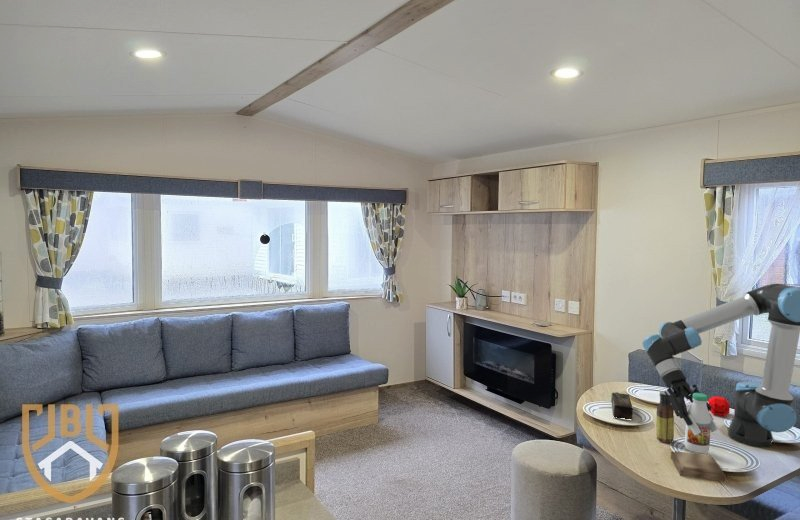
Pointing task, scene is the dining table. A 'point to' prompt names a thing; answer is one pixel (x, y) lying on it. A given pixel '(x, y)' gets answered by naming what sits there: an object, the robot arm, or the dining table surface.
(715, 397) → the ball
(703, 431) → the milk bottle
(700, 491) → the dining table surface
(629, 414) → the dark brown block
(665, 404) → the sauce bottle
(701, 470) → the podium
